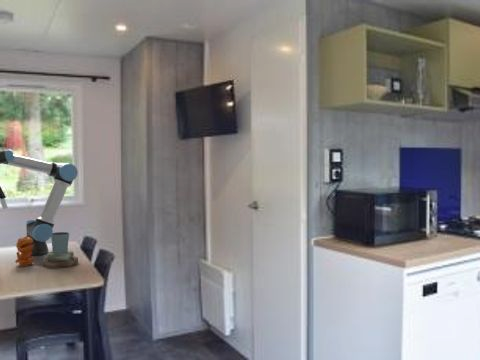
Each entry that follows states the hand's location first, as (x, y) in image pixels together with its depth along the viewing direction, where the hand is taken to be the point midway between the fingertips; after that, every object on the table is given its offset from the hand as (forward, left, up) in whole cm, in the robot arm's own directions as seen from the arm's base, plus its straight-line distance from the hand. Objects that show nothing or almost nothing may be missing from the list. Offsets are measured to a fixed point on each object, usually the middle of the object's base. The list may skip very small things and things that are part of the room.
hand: (1, 209), depth 274 cm
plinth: (-3, +36, -33) cm, 49 cm away
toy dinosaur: (+2, +16, -34) cm, 37 cm away
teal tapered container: (-3, +36, -27) cm, 45 cm away
